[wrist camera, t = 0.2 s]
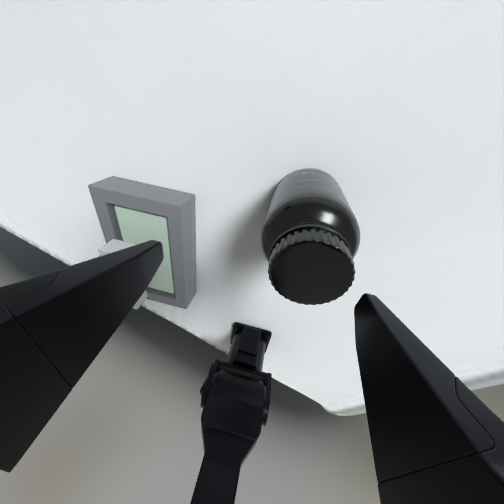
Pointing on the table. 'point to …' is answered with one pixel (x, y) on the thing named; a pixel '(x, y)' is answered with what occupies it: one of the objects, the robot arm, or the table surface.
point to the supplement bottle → (310, 238)
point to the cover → (141, 230)
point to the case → (161, 203)
